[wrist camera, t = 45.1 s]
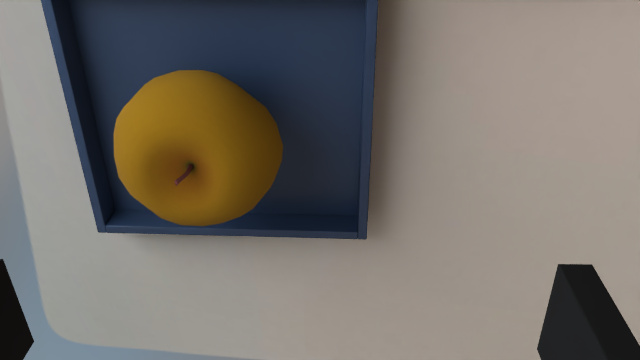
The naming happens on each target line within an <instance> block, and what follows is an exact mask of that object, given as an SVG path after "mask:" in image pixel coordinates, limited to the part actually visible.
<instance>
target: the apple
mask: <svg viewBox="0 0 640 360" xmlns="http://www.w3.org/2000/svg"><path fill="white" fill-rule="evenodd" d="M282 154H283V144H282V140H281V137H280V134H279V130H278V127H277V123H276V122H275V120H274V119H273V117H272V116H271V114H270V113H269V111H268V110H267V108H266V107H265V106H264V105H262V104H261V103H260V102H259V101H257V100H256V99H255V98H253V97H252V96H251V95H250V94H248V93H247V92H246V91H244V90H243V89H242V88H241V87H239V86H238V85H237V84H235V83H233V82H232V81H230V80H228V79H226V78H225V77H223V76H221V75H219V74H218V73H213V72H209V71H205V70H178V71H175V72H171V73H168V74H165V75H162V76H158V77H155V78H153V79H152V80H150V81H149V82H148V83H146V84H145V85H144V86H143V87H142V88H141V89H140V90H139V91H138V92H137V93H136V94H135V95H134V97H133V98H132V99H131V100H130V101H129V102H128V103H127V104H126V105H125V106H124V107H123V109H122V111H121V112H120V114H119V115H118V117H117V119H116V123H115V128H114V158H115V163H116V167H117V172H118V176H119V179H120V180H121V181H122V183H123V184H124V186H125V187H126V189H127V190H128V192H129V193H130V195H132V196H133V197H134V198H135V199H136V200H138V201H139V202H140V203H142V204H143V205H144V206H145V207H147V208H148V209H149V210H151V211H152V212H153V213H155V214H156V215H157V216H159V217H160V218H161V219H164V220H167V221H170V222H173V223H176V224H179V225H187V226H208V225H215V224H221V223H224V222H227V221H229V220H232V219H235V218H238V217H241V216H242V215H244V214H245V213H247V212H249V211H250V210H252V209H253V208H254V207H255V206H256V205H257V203H258V202H259V201H260V200H261V198H262V197H263V196H264V195H265V194H266V192H267V191H268V190H269V189H270V187H271V186H272V184H273V182H274V180H275V177H276V175H277V172H278V169H279V167H280V164H281V162H282Z"/></svg>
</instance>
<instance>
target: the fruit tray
mask: <svg viewBox="0 0 640 360" xmlns="http://www.w3.org/2000/svg"><path fill="white" fill-rule="evenodd" d="M41 3H42V7H43V11H44V15H45V19H46V23H47V27H48V31H49V35H50V39H51V43H52V47H53V51H54V55H55V59H56V63H57V67H58V71H59V75H60V80H61V84H62V88H63V92H64V96H65V100H66V104H67V108H68V112H69V116H70V120H71V124H72V128H73V132H74V136H75V140H76V144H77V148H78V152H79V157H80V161H81V165H82V169H83V173H84V177H85V181H86V185H87V189H88V193H89V197H90V201H91V205H92V209H93V213H94V217H95V221H96V225H97V229H98V232H102V233H106V232H107V233H140V234H179V235H218V236H257V237H296V238H336V239H357V238H358V239H367V222H368V202H369V181H370V161H371V140H372V120H373V99H374V79H375V59H376V38H377V18H378V0H41ZM178 70H205V71H209V72H213V73H218V74H219V75H221V76H223V77H225V78H226V79H228V80H230V81H232V82H233V83H235V84H237V85H238V86H239V87H241V88H242V89H243V90H244V91H246V92H247V93H248V94H250V95H251V96H252V97H253V98H255V99H256V100H257V101H259V102H260V103H261V104H262V105H264V106H265V107H266V108H267V110H268V111H269V113H270V114H271V116H272V117H273V119H274V120H275V122H276V123H277V127H278V130H279V134H280V137H281V140H282V144H283V154H282V162H281V164H280V167H279V169H278V172H277V175H276V177H275V180H274V182H273V184H272V186H271V187H270V189H269V190H268V191H267V192H266V194H265V195H264V196H263V197H262V198H261V200H260V201H259V202H258V203H257V205H256V206H255V207H254V208H253V209H252V210H250V211H249V212H247V213H245V214H244V215H242V216H241V217H238V218H235V219H232V220H229V221H227V222H224V223H221V224H215V225H208V226H187V225H179V224H176V223H173V222H170V221H167V220H164V219H161V218H160V217H159V216H157V215H156V214H155V213H153V212H152V211H151V210H149V209H148V208H147V207H145V206H144V205H143V204H142V203H140V202H139V201H138V200H136V199H135V198H134V197H133V196H132V195H130V193H129V192H128V190H127V189H126V187H125V186H124V184H123V183H122V181H121V180H120V179H119V176H118V172H117V167H116V163H115V158H114V128H115V123H116V119H117V117H118V115H119V114H120V112H121V111H122V109H123V107H124V106H125V105H126V104H127V103H128V102H129V101H130V100H131V99H132V98H133V97H134V95H135V94H136V93H137V92H138V91H139V90H140V89H141V88H142V87H143V86H144V85H145V84H146V83H148V82H149V81H150V80H152V79H153V78H155V77H158V76H162V75H165V74H168V73H171V72H175V71H178Z"/></svg>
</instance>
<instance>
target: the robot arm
mask: <svg viewBox="0 0 640 360" xmlns="http://www.w3.org/2000/svg"><path fill="white" fill-rule="evenodd" d="M33 342H34V340H33V338H32V335H31V332H30V330H29V327H28V324H27V322H26V319H25V316H24V314H23V311H22V309H21V306H20V303H19V301H18V298H17V295H16V293H15V290H14V287H13V285H12V282H11V279H10V277H9V274H8V272H7V269H6V266H5V263H4V261H3V259H0V360H23V359H24V357H25V355H26V354H27V352H28V351H29V349H30V347H31V346H32V344H33ZM537 350H538V353H539V355H540V358H541V360H640V346H639V344H638V342H637V341H636V339H635V337H634V335H633V334H632V332H631V330H630V329H629V327H628V325H627V324H626V322H625V320H624V318H623V317H622V315H621V313H620V312H619V310H618V308H617V306H616V305H615V303H614V301H613V300H612V298H611V296H610V295H609V293H608V291H607V289H606V288H605V286H604V284H603V283H602V281H601V279H600V278H599V276H598V274H597V272H596V271H595V269H594V267H593V266H592V265H582V264H558V267H557V271H556V275H555V279H554V283H553V287H552V291H551V295H550V299H549V303H548V307H547V311H546V315H545V319H544V323H543V327H542V331H541V335H540V339H539V343H538V347H537Z"/></svg>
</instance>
